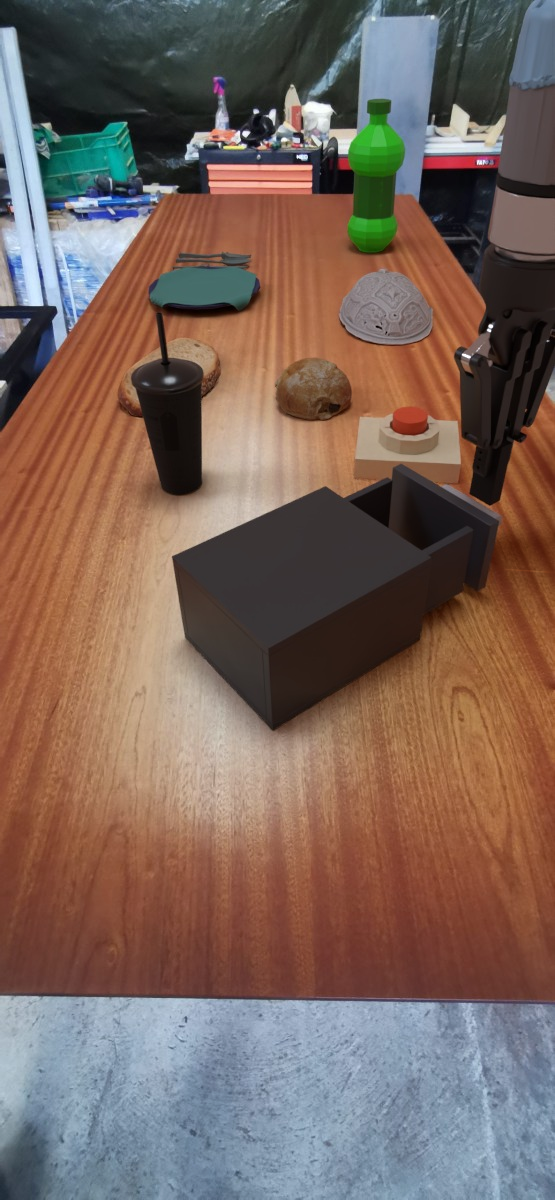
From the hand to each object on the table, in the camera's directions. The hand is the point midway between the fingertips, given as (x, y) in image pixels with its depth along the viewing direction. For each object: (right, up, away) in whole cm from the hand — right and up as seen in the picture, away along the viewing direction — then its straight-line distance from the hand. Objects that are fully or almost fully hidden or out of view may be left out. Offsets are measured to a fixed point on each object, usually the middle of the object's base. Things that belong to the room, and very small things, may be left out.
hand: (484, 497), depth 74 cm
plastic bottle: (-2, +61, +75) cm, 97 cm away
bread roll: (-16, +16, +27) cm, 35 cm away
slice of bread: (-36, +21, +33) cm, 54 cm away
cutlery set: (-33, +47, +62) cm, 85 cm away
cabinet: (-19, -14, -7) cm, 24 cm away
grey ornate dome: (-3, +37, +50) cm, 62 cm away
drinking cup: (-32, +3, +13) cm, 35 cm away
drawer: (-9, -8, -2) cm, 12 cm away
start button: (-5, +10, +13) cm, 17 cm away
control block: (-5, +7, +16) cm, 18 cm away
